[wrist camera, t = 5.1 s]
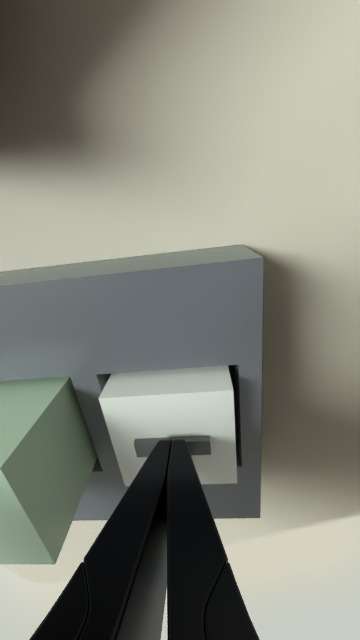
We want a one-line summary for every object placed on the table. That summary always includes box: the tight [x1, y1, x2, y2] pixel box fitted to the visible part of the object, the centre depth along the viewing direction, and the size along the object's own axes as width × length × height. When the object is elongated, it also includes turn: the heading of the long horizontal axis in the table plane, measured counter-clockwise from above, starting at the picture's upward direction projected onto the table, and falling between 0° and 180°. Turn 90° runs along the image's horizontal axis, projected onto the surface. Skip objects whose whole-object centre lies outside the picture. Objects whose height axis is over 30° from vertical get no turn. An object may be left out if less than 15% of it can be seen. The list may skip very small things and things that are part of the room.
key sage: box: [0, 376, 98, 564], centre depth 8 cm, size 4×4×4 cm
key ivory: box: [98, 365, 237, 486], centre depth 10 cm, size 4×4×4 cm
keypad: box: [0, 245, 263, 521], centre depth 11 cm, size 17×11×3 cm, turn 97°
